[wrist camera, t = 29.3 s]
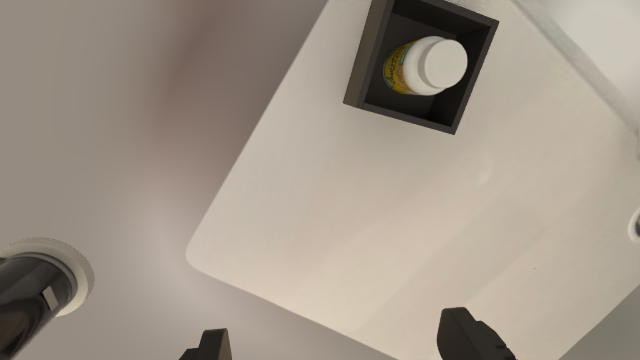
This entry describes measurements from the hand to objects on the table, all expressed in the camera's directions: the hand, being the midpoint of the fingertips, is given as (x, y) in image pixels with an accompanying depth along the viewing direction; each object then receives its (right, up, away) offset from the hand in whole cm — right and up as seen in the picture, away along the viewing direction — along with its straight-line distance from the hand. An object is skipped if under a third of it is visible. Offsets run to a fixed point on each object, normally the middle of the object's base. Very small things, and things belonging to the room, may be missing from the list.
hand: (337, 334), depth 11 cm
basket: (+9, +19, +24) cm, 32 cm away
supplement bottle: (+9, +19, +24) cm, 32 cm away
